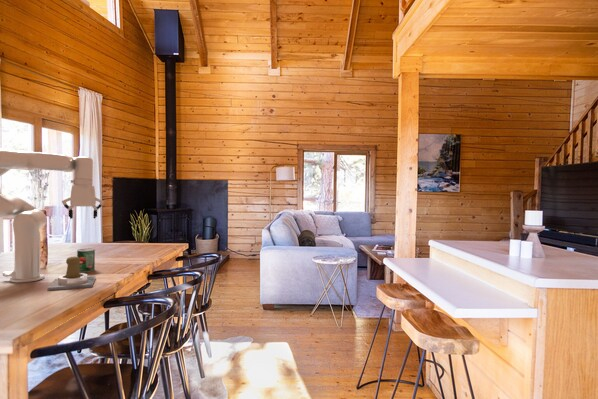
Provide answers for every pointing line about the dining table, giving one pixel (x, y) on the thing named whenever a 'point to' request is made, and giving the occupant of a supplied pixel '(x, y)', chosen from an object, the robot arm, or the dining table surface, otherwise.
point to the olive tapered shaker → (73, 267)
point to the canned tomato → (86, 259)
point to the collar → (72, 282)
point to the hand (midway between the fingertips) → (83, 218)
